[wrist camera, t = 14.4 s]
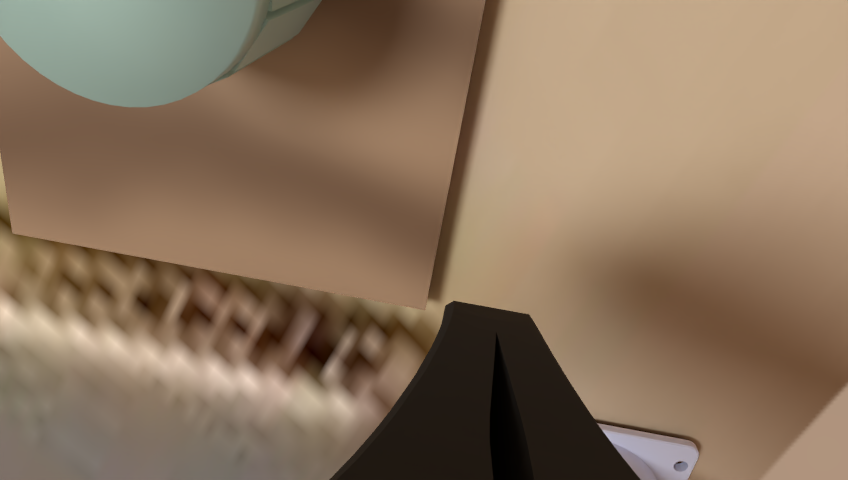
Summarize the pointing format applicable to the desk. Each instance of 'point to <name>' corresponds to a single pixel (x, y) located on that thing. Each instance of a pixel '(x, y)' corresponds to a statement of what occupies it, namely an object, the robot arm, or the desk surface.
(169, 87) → the cap
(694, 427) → the desk surface
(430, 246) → the walnut board
